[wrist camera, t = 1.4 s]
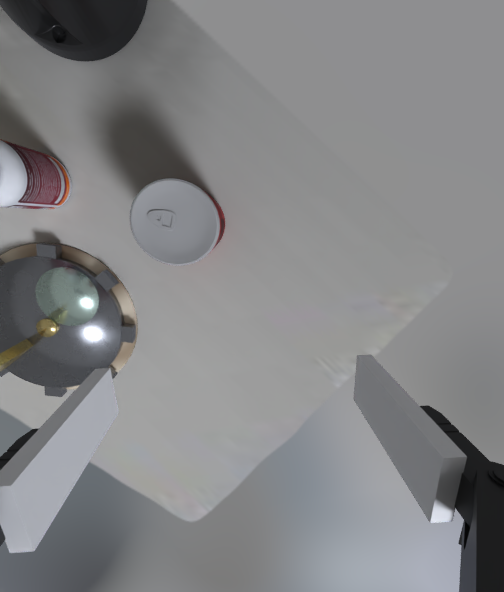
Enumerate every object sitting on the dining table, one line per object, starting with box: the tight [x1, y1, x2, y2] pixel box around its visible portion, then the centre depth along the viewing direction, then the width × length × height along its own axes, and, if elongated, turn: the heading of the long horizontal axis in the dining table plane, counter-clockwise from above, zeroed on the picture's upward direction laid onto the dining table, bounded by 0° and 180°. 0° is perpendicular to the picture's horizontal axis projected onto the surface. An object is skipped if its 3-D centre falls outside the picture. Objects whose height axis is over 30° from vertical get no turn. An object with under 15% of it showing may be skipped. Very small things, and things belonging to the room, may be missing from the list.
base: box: [0, 243, 138, 389], centre depth 38 cm, size 21×21×1 cm
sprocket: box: [0, 243, 136, 397], centre depth 34 cm, size 21×21×8 cm
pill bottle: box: [0, 140, 72, 209], centre depth 28 cm, size 6×6×11 cm
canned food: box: [130, 178, 225, 266], centre depth 30 cm, size 8×8×11 cm
